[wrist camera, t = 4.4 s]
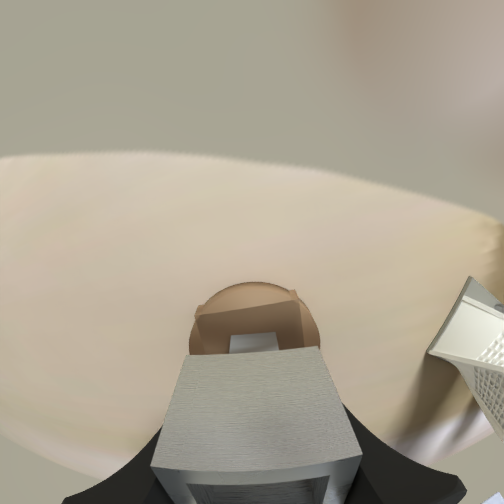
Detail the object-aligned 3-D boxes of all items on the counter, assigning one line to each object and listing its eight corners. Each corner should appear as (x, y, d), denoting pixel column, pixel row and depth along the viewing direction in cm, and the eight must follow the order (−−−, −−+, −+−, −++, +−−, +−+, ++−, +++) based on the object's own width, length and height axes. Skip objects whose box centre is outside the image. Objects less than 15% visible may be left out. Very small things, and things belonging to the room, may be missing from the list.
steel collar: (317, 345, 11) (362, 454, 5) (312, 429, 12) (335, 521, 7) (186, 355, 11) (149, 466, 5) (207, 437, 12) (195, 529, 7)
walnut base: (321, 465, 21) (330, 499, 17) (243, 477, 21) (243, 511, 17) (308, 271, 17) (328, 298, 12) (179, 292, 17) (159, 325, 13)
